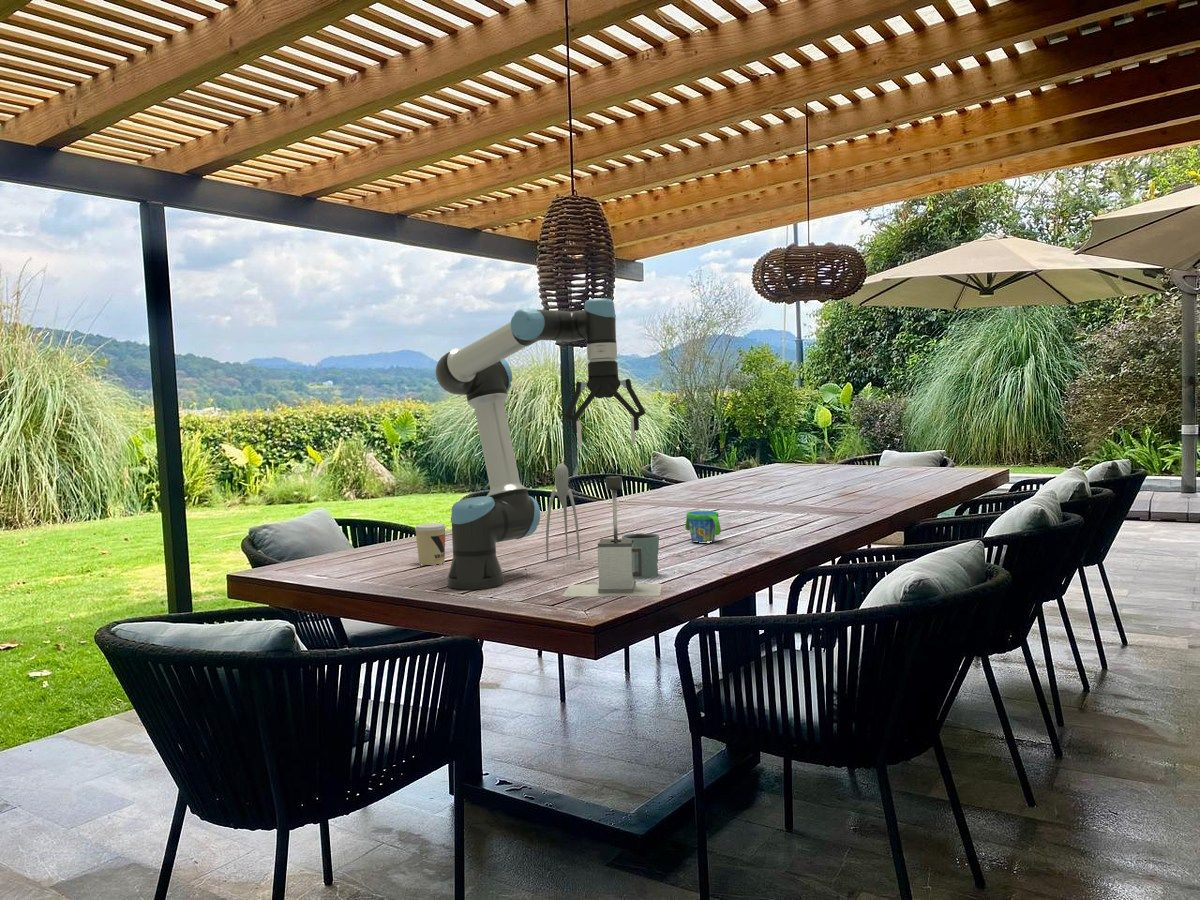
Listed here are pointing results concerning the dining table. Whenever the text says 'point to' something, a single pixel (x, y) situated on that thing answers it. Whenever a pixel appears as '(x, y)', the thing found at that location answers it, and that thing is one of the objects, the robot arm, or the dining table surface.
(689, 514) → the snack cup
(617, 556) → the block
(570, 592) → the plate
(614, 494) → the plunger
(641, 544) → the green mug
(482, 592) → the dining table surface
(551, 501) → the juicer
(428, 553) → the coffee cup
